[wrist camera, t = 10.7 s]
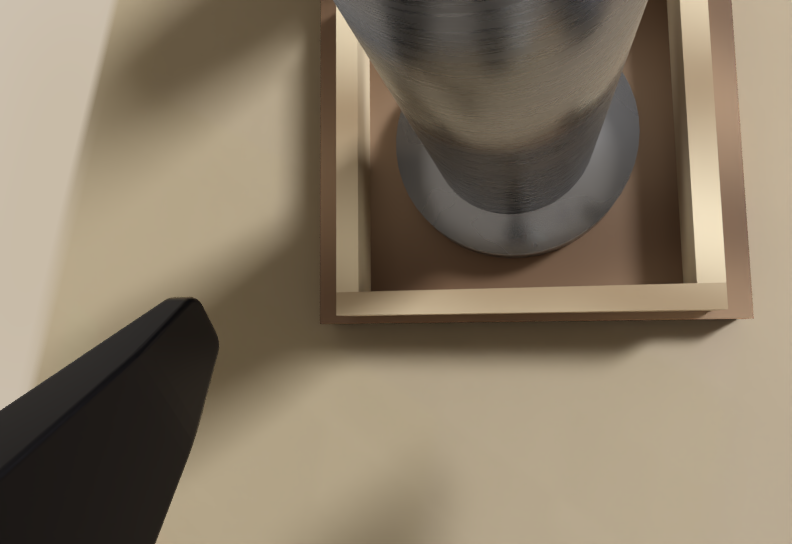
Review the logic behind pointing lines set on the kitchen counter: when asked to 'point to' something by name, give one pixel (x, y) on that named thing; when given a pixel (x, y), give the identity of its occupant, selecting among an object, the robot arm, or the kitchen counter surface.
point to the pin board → (582, 259)
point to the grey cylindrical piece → (507, 113)
